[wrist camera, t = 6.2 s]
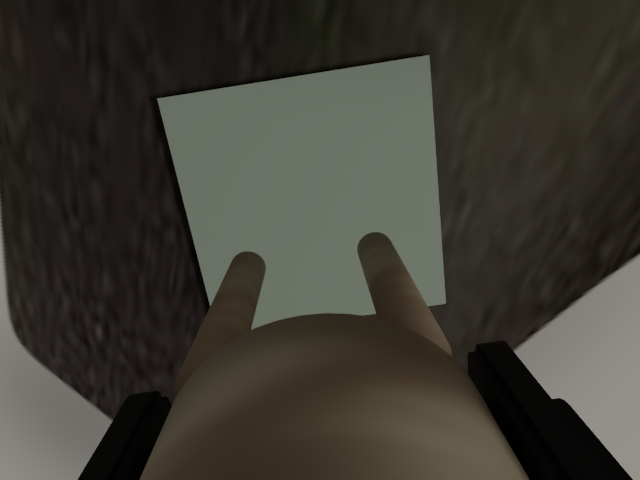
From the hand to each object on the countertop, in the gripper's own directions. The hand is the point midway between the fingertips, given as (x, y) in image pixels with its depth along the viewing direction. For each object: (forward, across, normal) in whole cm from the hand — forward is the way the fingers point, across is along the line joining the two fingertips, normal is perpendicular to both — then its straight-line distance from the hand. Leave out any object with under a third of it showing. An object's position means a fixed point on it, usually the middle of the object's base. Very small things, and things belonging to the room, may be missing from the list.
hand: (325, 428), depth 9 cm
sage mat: (+20, 0, 0) cm, 20 cm away
